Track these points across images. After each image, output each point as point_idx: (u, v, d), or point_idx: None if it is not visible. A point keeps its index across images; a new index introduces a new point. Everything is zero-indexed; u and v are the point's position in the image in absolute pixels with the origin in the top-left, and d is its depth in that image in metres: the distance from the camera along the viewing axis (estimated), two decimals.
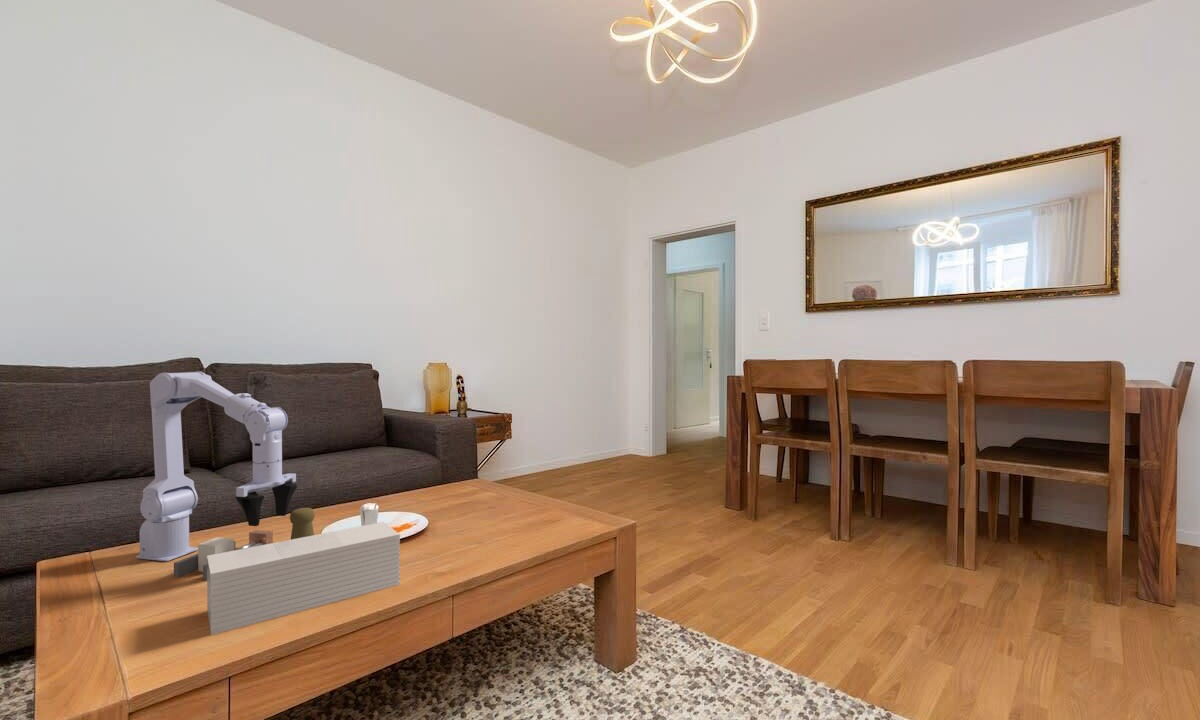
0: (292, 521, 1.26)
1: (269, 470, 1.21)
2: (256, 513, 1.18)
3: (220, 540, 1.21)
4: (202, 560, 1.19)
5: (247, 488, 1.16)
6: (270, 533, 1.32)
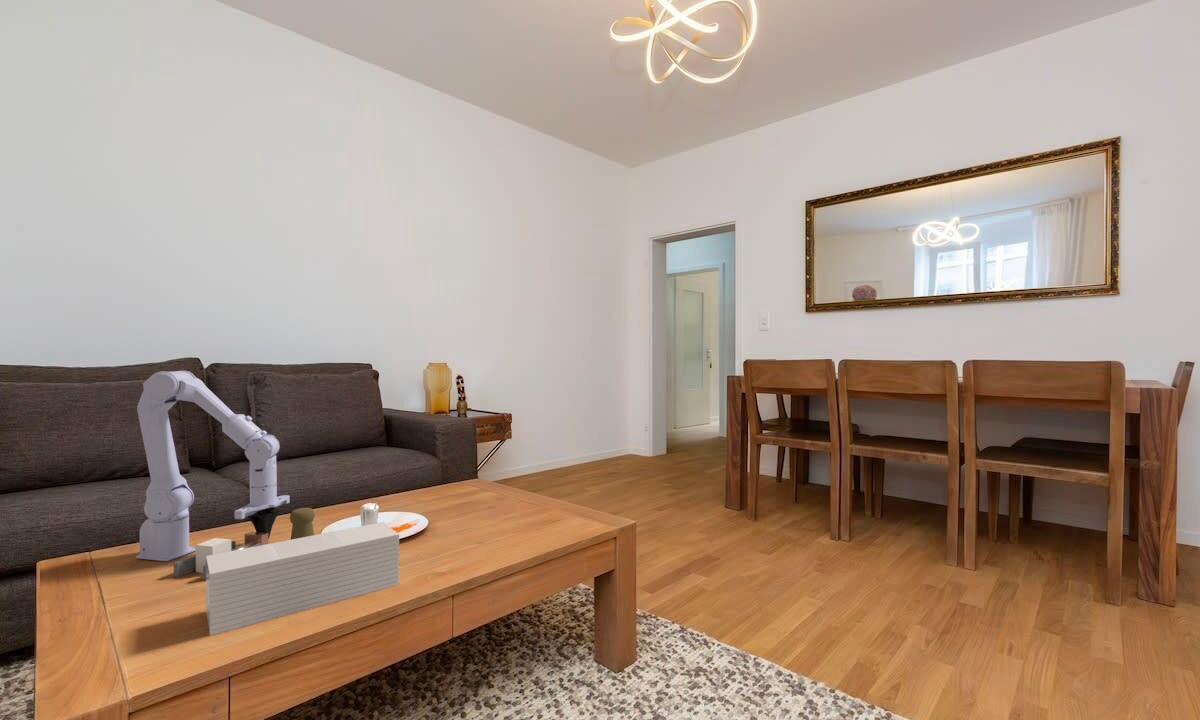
0: (292, 521, 1.26)
1: (264, 494, 1.31)
2: (265, 529, 1.32)
3: (218, 541, 1.21)
4: (199, 561, 1.18)
5: (244, 511, 1.27)
6: (266, 535, 1.31)
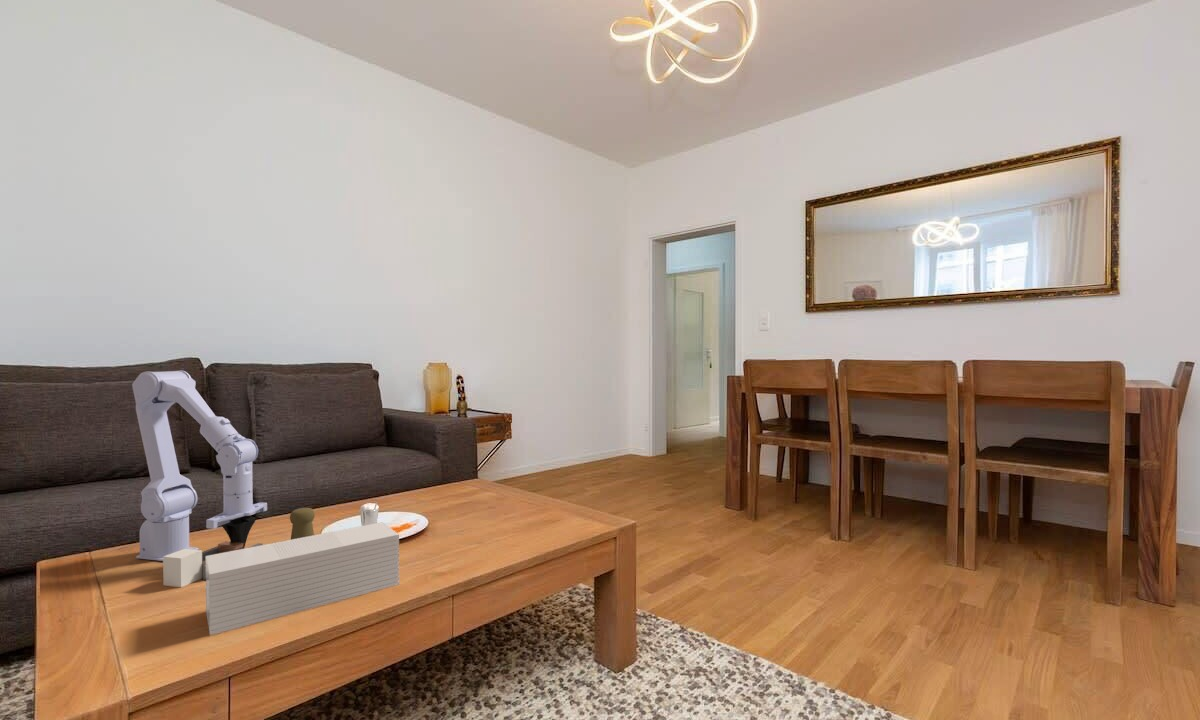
0: (292, 521, 1.26)
1: (239, 502, 1.24)
2: (240, 538, 1.25)
3: (187, 552, 1.14)
4: (167, 574, 1.11)
5: (217, 520, 1.20)
6: (240, 545, 1.24)
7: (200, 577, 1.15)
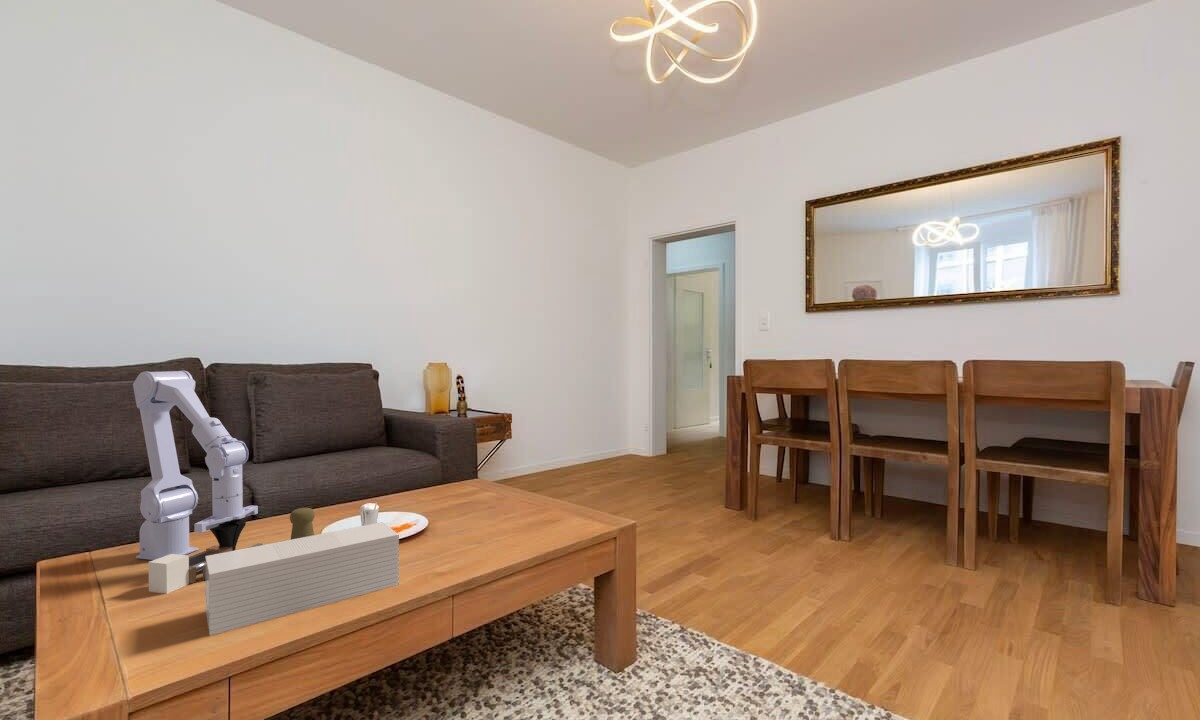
0: (292, 521, 1.26)
1: (228, 505, 1.21)
2: (229, 543, 1.22)
3: (174, 557, 1.11)
4: (152, 580, 1.09)
5: (205, 524, 1.17)
6: (229, 549, 1.21)
7: (187, 583, 1.12)
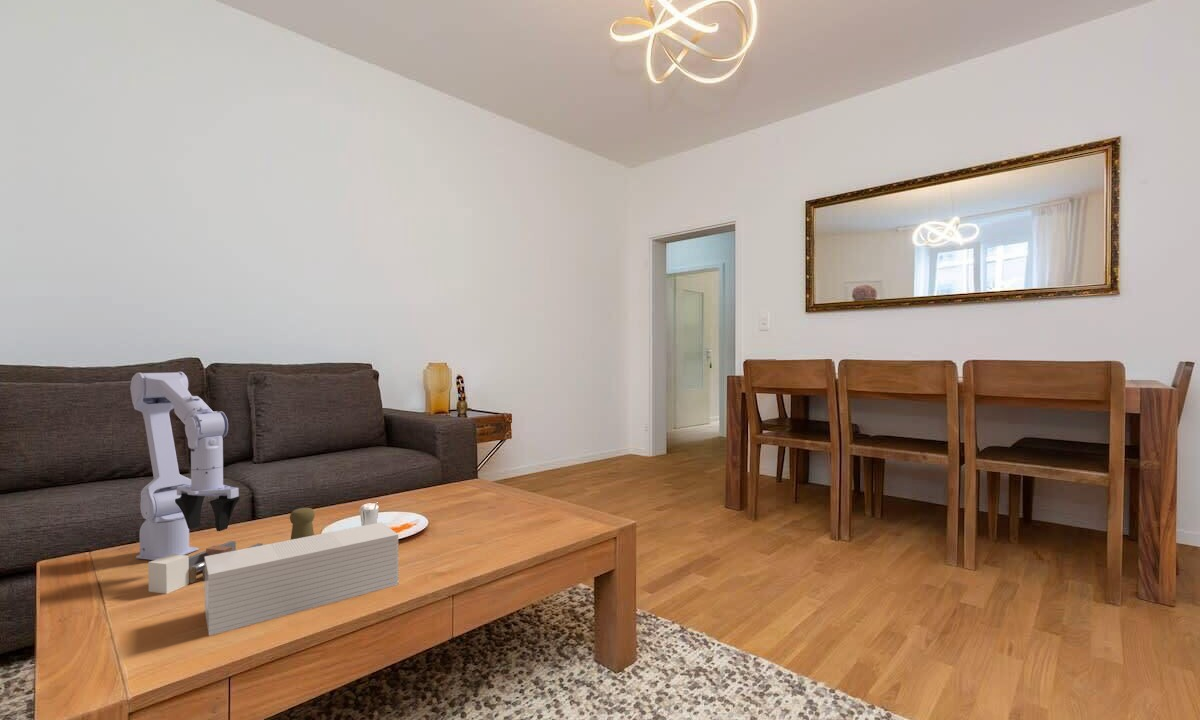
0: (292, 521, 1.26)
1: (191, 477, 1.17)
2: (184, 515, 1.18)
3: (173, 557, 1.11)
4: (152, 580, 1.09)
5: (179, 488, 1.19)
6: (229, 549, 1.21)
7: (187, 583, 1.12)
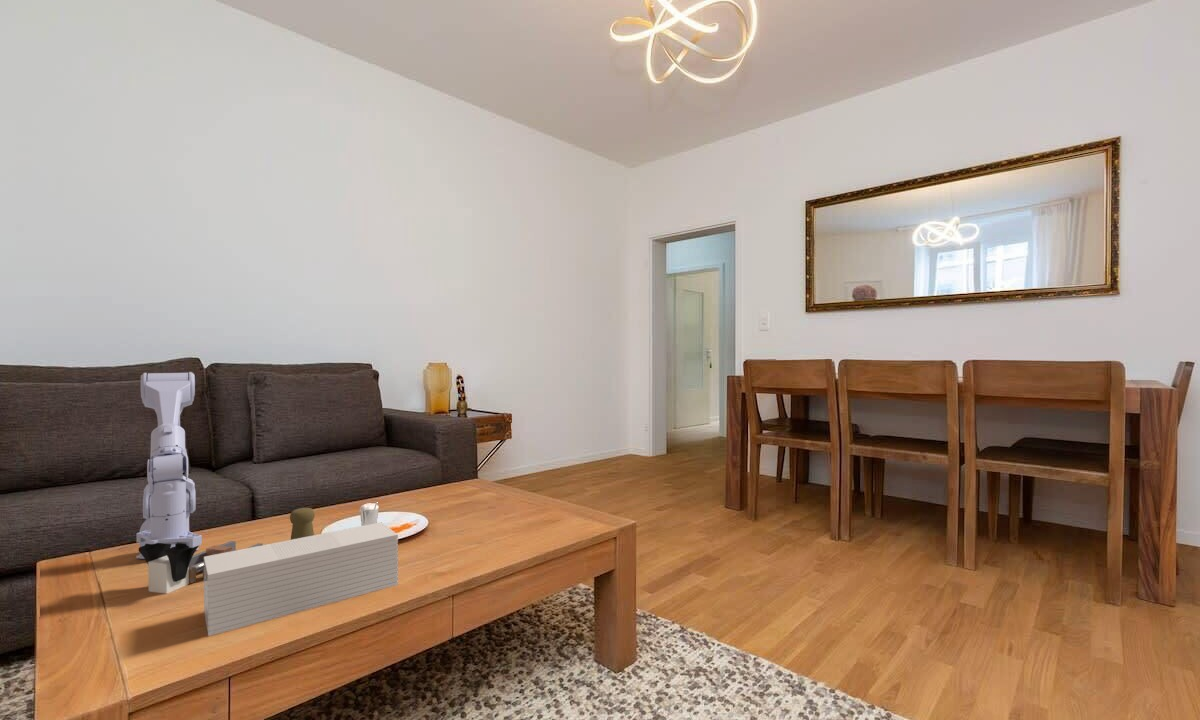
0: (292, 521, 1.26)
1: (150, 523, 1.09)
2: None
3: None
4: (152, 580, 1.09)
5: (139, 534, 1.11)
6: (229, 549, 1.21)
7: (187, 583, 1.12)
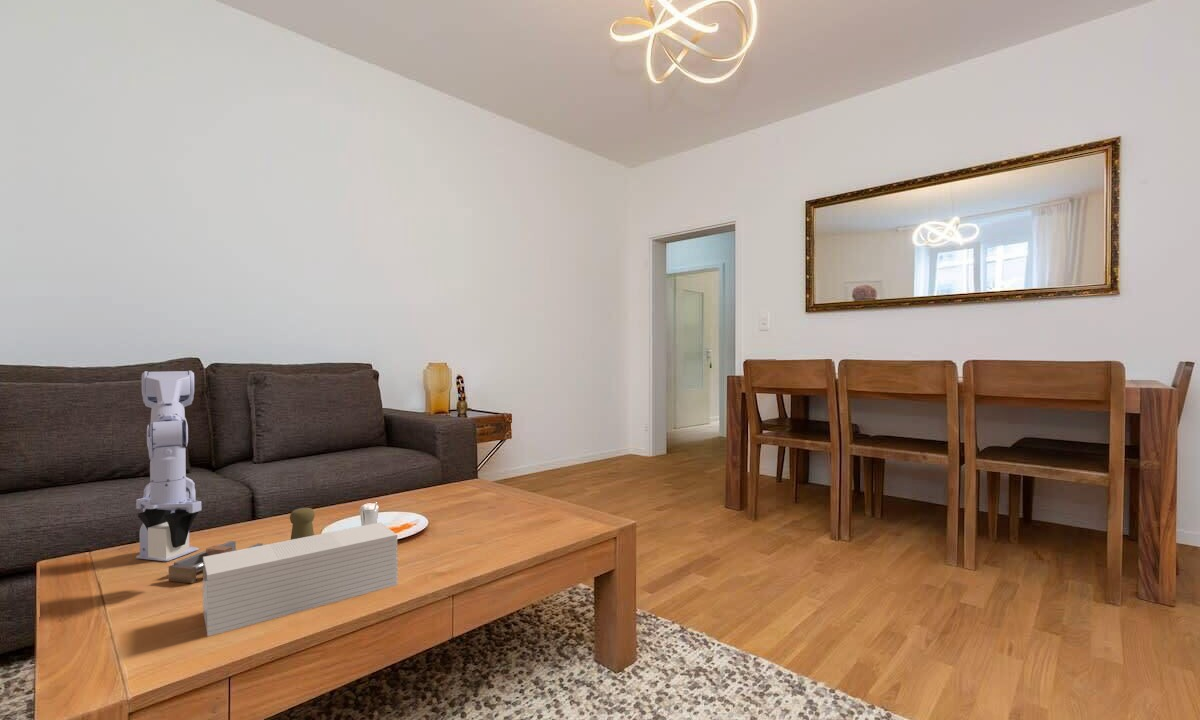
0: (292, 521, 1.26)
1: (150, 489, 1.09)
2: None
3: None
4: (152, 546, 1.08)
5: (139, 501, 1.11)
6: (229, 549, 1.21)
7: (186, 550, 1.12)
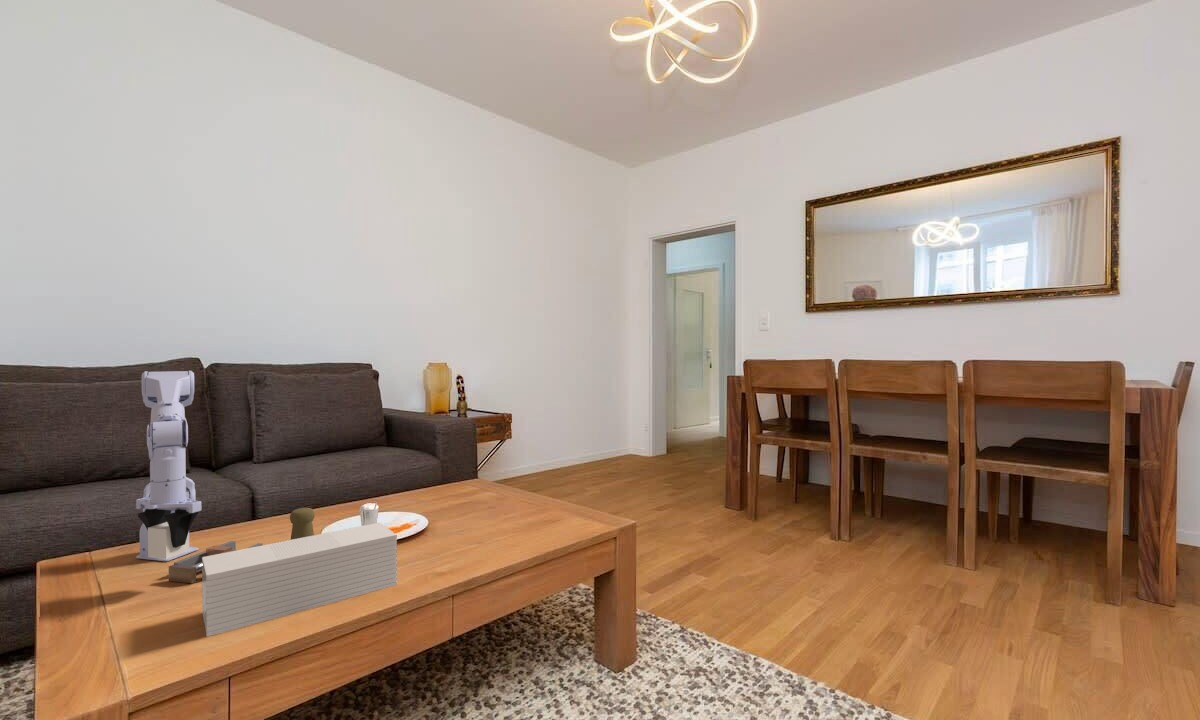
0: (292, 521, 1.26)
1: (150, 489, 1.09)
2: None
3: None
4: (152, 546, 1.08)
5: (139, 501, 1.11)
6: (229, 549, 1.21)
7: (186, 550, 1.12)
